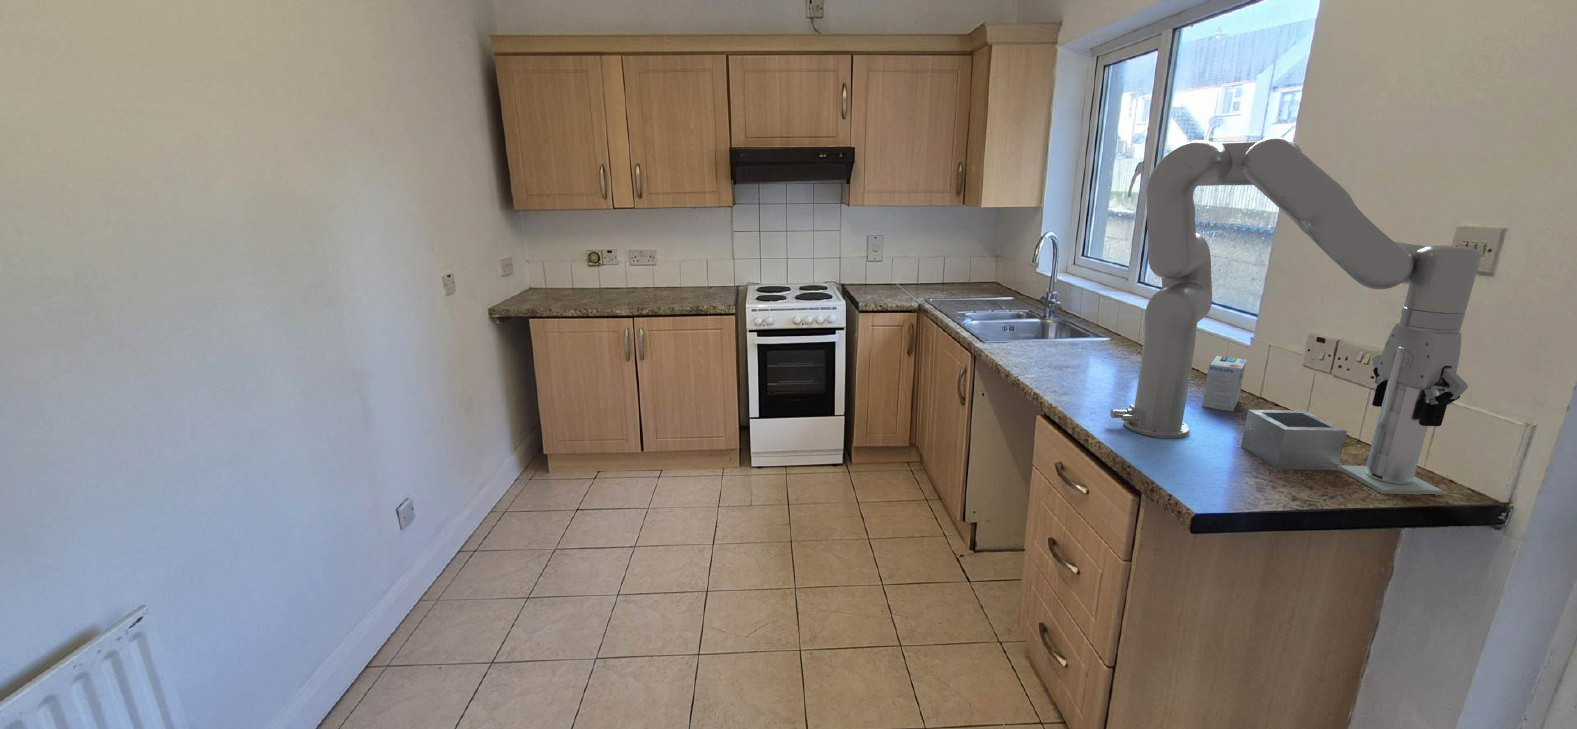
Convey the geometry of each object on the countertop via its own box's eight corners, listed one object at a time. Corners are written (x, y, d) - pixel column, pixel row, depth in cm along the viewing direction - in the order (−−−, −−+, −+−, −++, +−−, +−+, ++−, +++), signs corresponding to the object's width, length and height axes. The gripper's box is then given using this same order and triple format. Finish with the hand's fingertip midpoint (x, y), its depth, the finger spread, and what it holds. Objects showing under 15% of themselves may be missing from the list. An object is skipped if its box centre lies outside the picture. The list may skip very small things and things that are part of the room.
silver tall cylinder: (1421, 486, 114) (1461, 348, 107) (1379, 483, 115) (1415, 346, 109) (1396, 471, 120) (1432, 339, 114) (1356, 468, 121) (1389, 337, 115)
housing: (1276, 469, 123) (1285, 429, 121) (1240, 446, 134) (1248, 409, 131) (1337, 470, 122) (1347, 430, 120) (1296, 447, 133) (1304, 410, 131)
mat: (1381, 493, 113) (1382, 489, 113) (1338, 469, 123) (1338, 465, 123) (1441, 494, 113) (1443, 490, 112) (1393, 470, 122) (1394, 466, 122)
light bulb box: (1207, 395, 165) (1215, 354, 163) (1239, 401, 161) (1247, 359, 158) (1200, 406, 157) (1208, 363, 155) (1234, 412, 153) (1242, 368, 150)
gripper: (1366, 310, 118) (1344, 399, 123) (1455, 331, 102) (1426, 433, 106) (1409, 310, 118) (1386, 399, 123) (1505, 331, 101) (1474, 434, 106)
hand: (1404, 415), depth 114 cm, fingers open, 9 cm apart
